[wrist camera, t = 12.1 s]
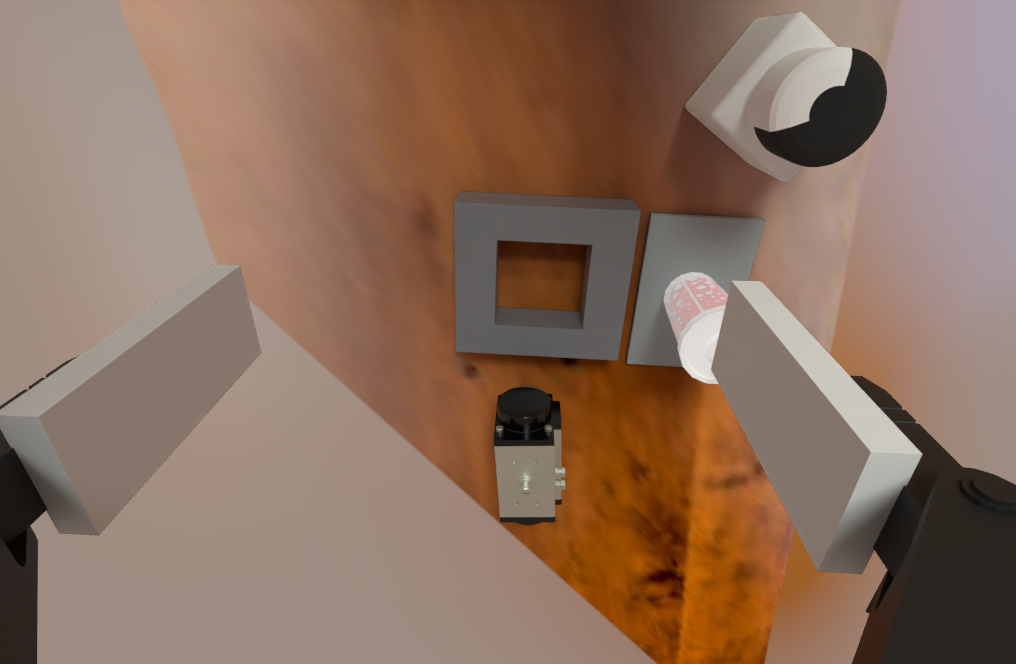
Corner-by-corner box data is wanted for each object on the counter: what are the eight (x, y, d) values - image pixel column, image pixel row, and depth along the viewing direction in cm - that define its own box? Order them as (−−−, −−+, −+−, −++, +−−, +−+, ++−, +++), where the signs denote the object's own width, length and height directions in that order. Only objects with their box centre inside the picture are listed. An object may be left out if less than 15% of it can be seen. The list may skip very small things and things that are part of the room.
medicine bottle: (825, 82, 38) (936, 95, 28) (749, 165, 41) (823, 204, 31) (756, 15, 37) (846, 1, 26) (681, 106, 39) (735, 127, 29)
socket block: (459, 191, 43) (454, 202, 40) (633, 199, 43) (640, 211, 40) (460, 332, 49) (455, 351, 46) (612, 340, 49) (617, 360, 46)
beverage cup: (671, 339, 48) (719, 440, 35) (642, 285, 45) (683, 372, 33) (737, 308, 46) (812, 403, 34) (711, 250, 44) (781, 329, 31)
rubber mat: (650, 212, 43) (651, 214, 43) (762, 218, 43) (764, 220, 42) (625, 360, 50) (626, 363, 49) (722, 365, 50) (724, 369, 49)
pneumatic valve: (506, 450, 55) (500, 544, 45) (500, 353, 50) (491, 434, 39) (560, 450, 55) (566, 545, 44) (559, 352, 50) (566, 434, 39)
